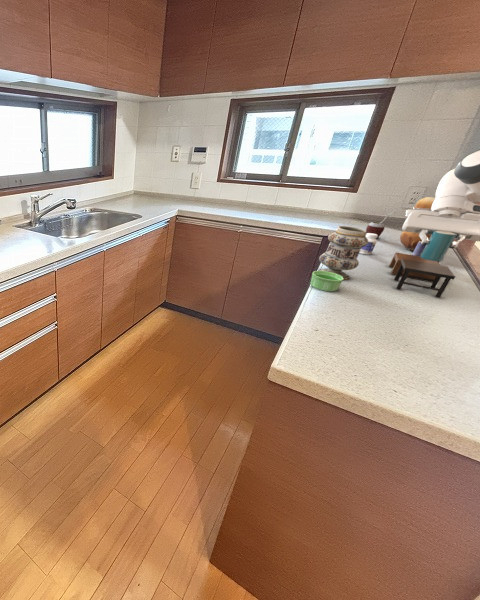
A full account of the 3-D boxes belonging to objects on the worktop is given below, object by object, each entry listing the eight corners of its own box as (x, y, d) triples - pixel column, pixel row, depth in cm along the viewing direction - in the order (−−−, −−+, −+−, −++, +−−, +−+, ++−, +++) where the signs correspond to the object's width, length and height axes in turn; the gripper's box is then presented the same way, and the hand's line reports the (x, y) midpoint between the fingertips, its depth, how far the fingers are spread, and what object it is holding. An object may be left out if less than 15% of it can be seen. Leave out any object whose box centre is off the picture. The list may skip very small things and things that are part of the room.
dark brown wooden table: (435, 287, 116) (447, 266, 112) (442, 298, 107) (455, 276, 104) (392, 278, 122) (402, 258, 119) (394, 289, 114) (405, 267, 110)
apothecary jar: (359, 282, 119) (381, 234, 110) (323, 279, 120) (342, 231, 112) (341, 270, 129) (360, 225, 121) (309, 267, 131) (325, 223, 123)
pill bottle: (370, 255, 147) (379, 236, 143) (356, 252, 150) (364, 234, 146) (371, 252, 151) (379, 234, 147) (357, 250, 154) (365, 232, 150)
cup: (440, 258, 110) (455, 232, 106) (443, 262, 106) (458, 235, 102) (419, 254, 113) (432, 229, 109) (421, 258, 109) (435, 232, 105)
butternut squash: (396, 244, 164) (420, 193, 153) (432, 251, 156) (461, 197, 144) (393, 250, 155) (419, 196, 144) (432, 257, 147) (462, 200, 135)
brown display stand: (428, 273, 129) (435, 258, 126) (433, 282, 120) (441, 267, 117) (388, 266, 135) (395, 252, 132) (390, 274, 126) (398, 259, 124)
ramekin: (307, 280, 119) (311, 268, 117) (336, 285, 116) (341, 273, 114) (309, 288, 112) (314, 277, 110) (341, 294, 109) (346, 282, 107)
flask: (409, 262, 140) (421, 237, 135) (407, 260, 142) (419, 236, 138) (438, 266, 136) (452, 241, 131) (436, 264, 138) (449, 240, 133)
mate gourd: (361, 235, 179) (373, 207, 173) (379, 237, 176) (391, 209, 170) (365, 238, 173) (377, 210, 167) (383, 240, 170) (396, 211, 164)
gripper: (411, 201, 113) (401, 234, 110) (498, 209, 102) (489, 246, 99) (404, 212, 118) (394, 244, 115) (486, 221, 107) (477, 256, 104)
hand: (438, 245), depth 107 cm, fingers closed on cup, 5 cm apart
